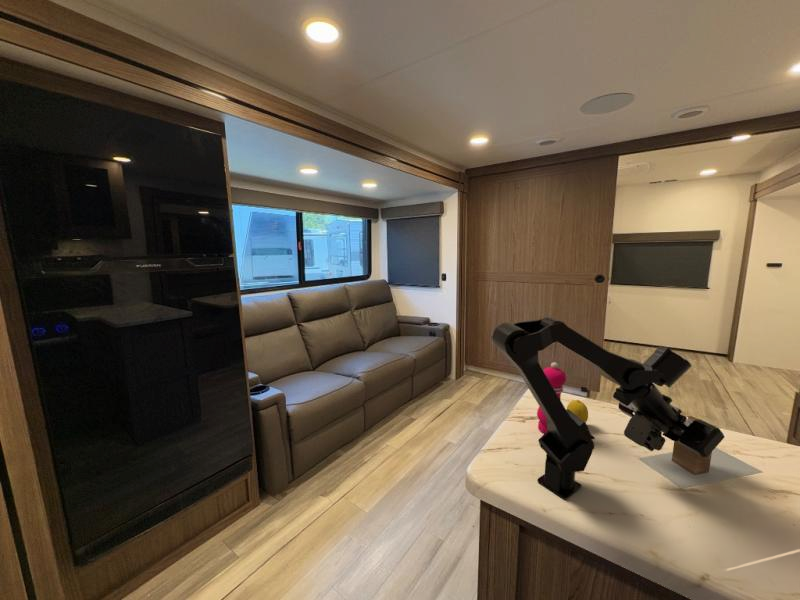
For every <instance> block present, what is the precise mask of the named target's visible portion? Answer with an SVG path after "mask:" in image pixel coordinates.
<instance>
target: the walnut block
mask: <svg viewBox="0 0 800 600" xmlns="http://www.w3.org/2000/svg"><path fill="white" fill-rule="evenodd" d="M686 417H687V418H689V419H691V420H693V421H694V420H698V419H699V418H696V417H694V416H693V415H688V416H686ZM672 452H673V454H672V461H673V462H674V463H676V464H678V465H679V466H681V467H682V468H684V469H686V470H687V471H689V472H690V473H692V474H694V475H698V474H703V473H709V468H710V462H711V455H712V452H711V453H710V454H709V456H708V457H701V456H700V455H698V454H696V453H694V452H692V451H691V450H689V449H687V448H686V447H685V446H683V445H682V444H681V443H680V441H673V448H672Z"/></svg>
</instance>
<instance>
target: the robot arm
mask: <svg viewBox="0 0 800 600" xmlns="http://www.w3.org/2000/svg"><path fill="white" fill-rule="evenodd" d="M491 339H492V340H491V341H492V342H493V344H494V346H495V347H496V348H497V349H498V350H499V351H500V352H501V354H503V356H504V357H505V358H507V360H509V362H510V363H511V364H512V365H513V366H514V367H515V368H516V369H517V372H518V373H519V374H520V377H521V378H522V380H523V381H524V383H525V384H526V386H527V388H528V389H529V391H530V393H531V394H532V396H533V398H534V399H535V401H536V403H537V405H538V407H539V406H540V408H541V409H542V411H543V413H544V414H545V416H546V418H547V428H548V431H547V432H546V433H545V434H542V435H541V437H539V438H538V444H539V447H540V449H542V450H543V451H544V452H545V453H546V456H545V463H544V465H545V466H544V473H543V474H542V475H541V476H540V477H538V478H537V480H536V481H537V483H539V484H540V485H541V486H543V487H545V488H546V489H548V490H550V491H551V492H553V493H554V494H556V496H559V497H560V498H562V499H563V500H568V499H569V498H571V497H572V496H573V495H574V494H575V493H576V492H578V491H579V490H580V489H581V488H582V484H581V483H579V482H578V481H576V473H577V472H584V471H585V469H586V468H587V465H588V463H589V461H590V459H591V456H592V454H593V450H594V449H595V442H594V441H593V440H595V439H596V437H595V436H594V435H592V434H591V432H590V430H589V426H588V425H587V422H586V423H585V422H584V421H582V420H581V419H580V418H579V417H577V416H576V415H575V414H574V413H572V412H571V411H570V410H569V409H567V408H565V406H564V404H563V402H562V400H561V398H560V399H559V397H558V395H557V394H556V392H555V390H554V388H553V387H552V385H551V383H550V382H549V380H548V378H547V376H546V375H545V373H544V370H543V367H542V366H541V365H540V363H539V352H541V351H543V350H545V349H547V348H548V347H550V346H551V345H553V343H557V344H559V345H561V346H562V347H564V348H565V349H567V350H569V351H570V352H571V353H574V354H575V355H577V356H578V357H581V358H582V359H584V360H585V361H586V362H588V363H589V364H590V365H591V366H592V368H593V369H594V370H595V371H596V372H597V373H598V374H599V375H601V377H603V378H605V379H607V380H608V381H610V382H612V383H614V384H615V385H618V386H619V387H616V388H615V391H614V392H613V395H612V397H613V399H614V400H617V402H618V409H619V410H620V411H621V412H622V413H624V414H625V415H627V416H628V417H630V419H629V421H628V422H627V425H626V426H625V429H624V430H623V435H624V436H625V438H627V439H628V440H630V441H632V442H634V443H635V444H636V445H638V446H640V447H643V448H645V449H646V450H648V451H650V452H654V450H656V451H662V449H663V448H664V445H665V443H666V438H667V439H670V440H671V441H673V442H674V441H680V443H681V444H682V445H683V446H685V447H686V448H687V449H689V450H691V451H692V452H694V453H696V454H698V455H700V456H701V457H708V456H709V454H710V453H711V452H712V451H713V450H714V449H715V448H717V447H718V446H719V444H720V443H721V442H722V441H723V440H724V439H725V434H724V433H723V431H722V430H721V429H720V428H719V427H718V426H715V425H712V424H711V423H709V422H706V421H704V420H702V419H701V418H697V419H698V420H694V421H693V420H691V419H689V418H687V416H685V415H684V414H682V412H683V411H682V410H681V409H680V408H678V407H676V406H674V405H673V404H671V403H672V402H673V399H672V398H671V397H669V396H668V395H665V394H663V393H662V392H661V391H660V390H659V389H658V388H657V386H659V387H663V386H665V387H667V388H669V389H670V388H671V387H672V386H673V385H674V384H675V383H676V382H677V381H678V380H679V379H680V378H682V376H683V375H685V374H686V373H687V371H688V370H690V369H691V368H692V364H691V362H690V361H689V360H688V359H685V358H684V357H682V356H681V355H679V354H678V353H677V352H674V351H672V349H671V348H669V347H667V346H664V345H659V346H658V347H657V348H656V349H655V351H653V353H652V354H651V355H650V356H649V357H648V358H647V359H646V360H645V361H644V362H643V363H642V362H640V361H638V360H635V359H632V358H627V357H624V356H622V355H620V354H617V353H614V352H612V351H609V350H607V349H605V348H603V347H601V346H600V345H599V344H597V343H595V342H593V341H592V340H590V339H589V338H587V337H585V336H584V335H582V334H581V333H579V332H578V331H576V330H574V329H572V328H571V327H569V326H568V325H567V324H566V323H565V322H564V321H560V320H558V319H556V318H553V317H551V316H550V317H547V316H546V317H543V318H540V319H535V320H526V321H518V322H514V323H510V322H502V323H501V324H499V325H497V326H496V327H495V329H494V331H493V332H492V336H491ZM656 385H657V386H656ZM566 409H567V410H566ZM665 437H666V438H665Z"/></svg>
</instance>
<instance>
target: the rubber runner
mask: <svg viewBox="0 0 800 600" xmlns="http://www.w3.org/2000/svg"><path fill="white" fill-rule="evenodd" d="M672 454H673V451H671V452H666V453H660V454H654V455H649V456H648V455H647V456H643V457H641V456H640V457H637V458H636V459H637V460H639V461H640V462H642V463H643V464H644V465H646V466H647V467H649V468H650V469H652V470H653V471H654V472H656V473H658V474H660V475H661V476H662V477H663V478H665V479H667V480H668V481H670V483H672V484H674V485H675V486H676V487H678V488H680V489H685V488H690V487H694V486H700V485H704V484H710V483H715V482H720V481H726V480H730V479H735V478H740V477H744V476H745V477H747V476H750V475H755V474H760V473H763V471H762V470H760V469H758V468H756V467H755V466H753V465H751V464H749V463H747V462H745V461H743V460H740V459H739V458H737V457H735V456H733V455H732V454H729V453H728V452H725V451H723V450H722V449H719V448H718V447H716V448H715V449H714V450H713V451H712V455H711V462H710V468H709V473H703V474H698V475H694V474H692V473H690V472H689V471H687V470H686V469H684V468H682V467H681V466H679V465H678V464H676V463H674V462H673V461H672Z"/></svg>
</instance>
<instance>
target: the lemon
mask: <svg viewBox="0 0 800 600" xmlns="http://www.w3.org/2000/svg"><path fill="white" fill-rule="evenodd" d="M565 409H566V410H567V409H569V410H570V411H571V412H572V413H574V414H575V415H576V416H577V417H579V418H580V419H581V420H582V421H584V422H585V423H586V424H587V423H588V420H589V410H588V407H587V405H586V404H585V403H584V402H583V401H580V399H576V400H571V401H569V402H568V404H567V406H566V408H565Z"/></svg>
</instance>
